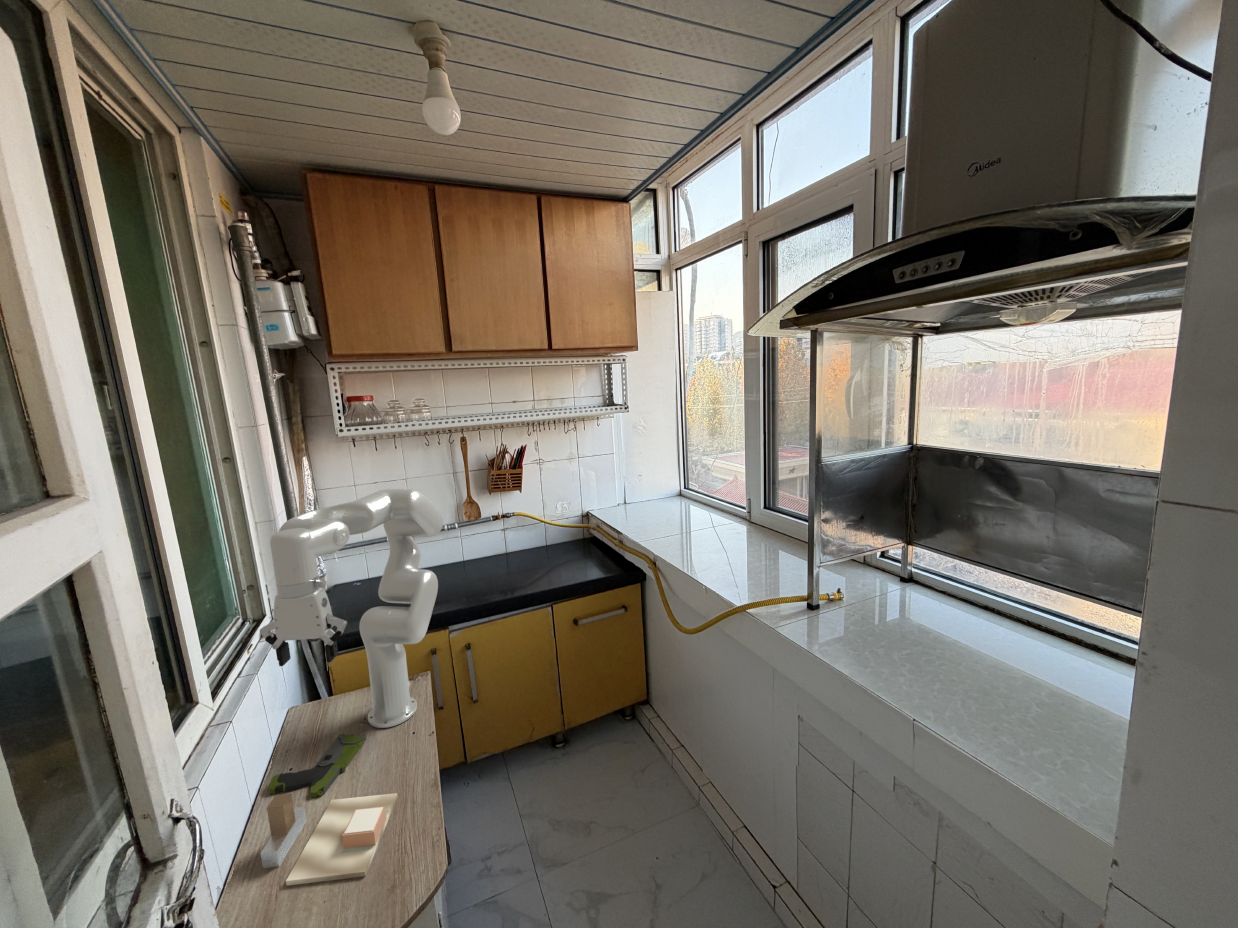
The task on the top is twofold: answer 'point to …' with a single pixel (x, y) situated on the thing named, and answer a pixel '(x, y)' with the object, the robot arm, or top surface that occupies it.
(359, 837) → the tile
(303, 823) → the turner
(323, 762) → the gun
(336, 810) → the board
